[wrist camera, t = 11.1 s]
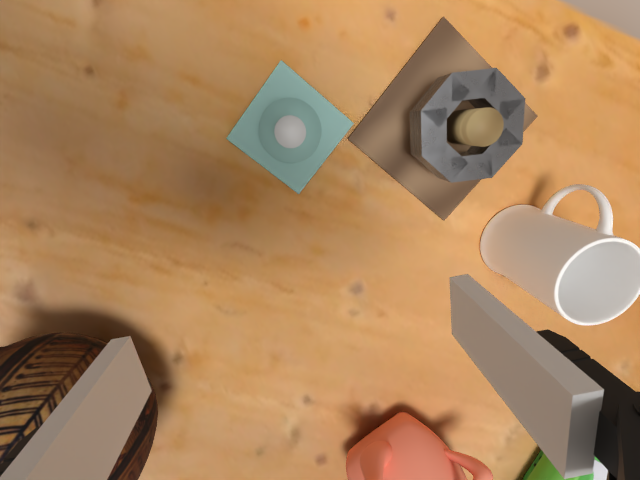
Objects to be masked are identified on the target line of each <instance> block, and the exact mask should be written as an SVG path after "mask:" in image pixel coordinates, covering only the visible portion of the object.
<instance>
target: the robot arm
mask: <svg viewBox="0 0 640 480" xmlns="http://www.w3.org/2000/svg"><path fill="white" fill-rule="evenodd" d="M450 299H451V325H452V335H453V336H454V337H455V339H456V340H457V341H458V343H459V344H460V345H461V346H462V348H463V349H464V350H465V352H466V353H467V354H468V355H469V357H470V358H471V359H472V361H473V362H474V363H475V365H476V366H477V367H478V368H479V370H480V371H481V372H482V374H483V375H484V376H485V377H486V379H487V380H488V381H489V383H490V384H491V385H492V387H493V388H494V389H495V390H496V392H497V393H498V394H499V396H500V397H501V398H502V399H503V401H504V402H505V403H506V405H507V406H508V407H509V408H510V410H511V411H512V412H513V414H514V415H515V416H516V418H517V419H518V420H519V421H520V423H521V424H522V425H523V427H524V428H525V429H526V430H527V432H528V433H529V434H530V436H531V437H532V438H533V439H534V441H535V442H536V443H537V445H538V446H539V447H540V449H541V450H542V451H543V452H544V454H545V455H546V456H547V458H548V459H549V460H550V461H551V463H552V464H553V465H554V467H555V468H556V469H557V470H558V472H559V473H560V474H561V476H562V477H563V478H564V479H568V478H573V477H578V476H582V475H587V474H592V473H593V466H594V459H595V457H596V458H597V459H598V460H599V461H600V462H601V463H602V464H603V465H604V466H605V468H606V469H607V470H608V473H607V479H606V480H640V392H635V391H634V390H633V389H631V388H630V387H629V386H627V385H626V384H625V383H624V382H622V381H621V380H620V379H618V378H617V377H616V376H615V375H613V374H612V373H611V372H609V371H608V370H607V369H606V368H604V367H603V366H602V365H600V364H599V363H598V362H597V361H595V360H594V359H591V358H590V356H589V355H588V354H586V353H585V352H584V351H582V350H579V347H577V346H576V345H575V344H573V343H572V342H571V341H570V340H568V339H567V338H566V337H564V336H561V335H559V334H557V333H555V332H552V331H550V330H543V331H537V332H536V331H534V330H533V329H532V328H531V327H530V326H528V325H527V324H526V323H525V322H524V321H523V320H521V319H520V318H519V317H518V316H517V315H515V314H514V313H513V312H512V311H511V310H510V309H508V308H507V307H506V306H505V305H504V304H502V303H501V302H500V301H499V300H498V299H497V298H495V297H494V296H493V295H492V294H491V293H489V292H488V291H487V290H486V289H485V288H484V287H482V286H481V285H480V284H479V283H478V282H476V281H475V280H474V279H473V278H472V277H471V276H469V275H468V274H465V275H460V276H455V277H450ZM151 391H152V390H151V387H150V385H149V382H148V380H147V377H146V374H145V372H144V369H143V367H142V364H141V362H140V359H139V357H138V354H137V351H136V349H135V346H134V344H133V341H132V339H131V336H127V337H122V338H116V339H111V340H110V342H109V343H108V344H107V345H106V346H105V348H104V349H103V350H102V351H101V353H100V354H99V355H98V356H97V358H96V359H95V360H94V361H93V363H92V364H91V365H90V366H89V368H88V369H87V370H86V371H85V372H84V374H83V375H82V376H81V377H80V379H79V380H78V381H77V382H76V384H75V385H74V386H73V387H72V389H71V390H70V391H69V392H68V394H67V395H66V396H65V397H64V399H63V400H62V401H61V402H60V403H59V405H58V406H57V407H56V408H55V410H54V411H53V412H52V413H51V415H50V416H49V417H48V418H47V420H46V421H45V422H44V423H43V425H42V426H41V427H38V428H35V429H34V430H32V431H31V432H30V433H29V434H28V435H26V436H25V437H24V438H23V439H22V440H20V441H19V442H18V443H17V444H16V445H15V446H14V448H13V449H12V450H11V451H10V452H9V453H8V455H7V456H6V457H5V458H4V459H3V463H0V480H107V479H108V477H109V475H110V473H111V471H112V469H113V467H114V465H115V463H116V461H117V459H118V457H119V455H120V453H121V451H122V449H123V447H124V445H125V443H126V441H127V439H128V437H129V435H130V433H131V431H132V429H133V427H134V425H135V423H136V421H137V419H138V417H139V415H140V413H141V411H142V409H143V407H144V405H145V403H146V401H147V399H148V397H149V395H150V393H151Z"/></svg>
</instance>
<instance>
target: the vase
mask: <svg viewBox="0 0 640 480" xmlns="http://www.w3.org/2000/svg"><path fill="white" fill-rule="evenodd" d="M107 344H108V343H106V342H104V341H101V340H98V339H96V338H92V337H89V336H85V335H79V334H72V333H51V334H42V335H38V336H34V337H30V338H27V339H24V340H21V341H19V342H16V343H14V344H11V345H8V346H5V347H0V463H3V459H4V458H5V457H6V456H7V455H8V453H9V452H10V451H11V450H12V449H13V448H14V446H15V445H16V444H17V443H18V442H19V441H20V440H22V439H23V438H24V437H25V436H26V435H28V434H29V433H30V432H31V431H32V430H34V429H35V428H38V427H41V426H42V425H43V423H44V422H45V421H46V420H47V418H48V417H49V416H50V415H51V413H52V412H53V411H54V410H55V408H56V407H57V406H58V405H59V403H60V402H61V401H62V400H63V399H64V397H65V396H66V395H67V394H68V392H69V391H70V390H71V389H72V387H73V386H74V385H75V384H76V382H77V381H78V380H79V379H80V377H81V376H82V375H83V374H84V372H85V371H86V370H87V369H88V368H89V366H90V365H91V364H92V363H93V361H94V360H95V359H96V358H97V356H98V355H99V354H100V353H101V351H102V350H103V349H104V348H105V346H106V345H107ZM146 377H147V376H146ZM147 380H148V382H149V385H150V387H151V390H152V391H151V393H150V395H149V397H148V399H147V401H146V403H145V405H144V407H143V409H142V411H141V413H140V415H139V417H138V419H137V421H136V423H135V425H134V427H133V429H132V431H131V433H130V435H129V437H128V439H127V441H126V443H125V445H124V447H123V449H122V451H121V453H120V455H119V457H118V459H117V461H116V463H115V465H114V467H113V469H112V471H111V473H110V475H109V477H108V479H107V480H138V478H139V476H140V474H141V472H142V470H143V468H144V465H145V463H146V461H147V459H148V456H149V453H150V450H151V447H152V444H153V440H154V436H155V431H156V426H157V415H158V409H157V401H156V396H155V392H154V390H153V387H152V384H151V383H150V381H149V379H148V377H147Z"/></svg>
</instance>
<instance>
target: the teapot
mask: <svg viewBox="0 0 640 480" xmlns="http://www.w3.org/2000/svg"><path fill="white" fill-rule="evenodd" d="M460 465H461V466H462V467H464V468H465V469H467V470H468V471H469V472H470V473H471V474H472V475H473V480H493V475H492V472H491V471H490V469H489V468H488V467H487V466H486V465H485V464H483V463H482V462H481V461H479V460H478V459H475V458H473V457H471V456H468V455H465V454H462V453H459V452H455V451H451V450H450V449H449V448H448V447H447V446H446V445H445V443H444V442H443V441H442V440H441V439H440V438H439V437H438V436H437V435H436V434H435V433H434V432H433V431H431V430H430V429H429V428H428V427H427V426H425V425H424V424H423V423H421V422H420V421H418V420H417V419H416V418H414V417H413V416H411V415H410V414H409V413H407V412H399V413H397V414H395V415H394V416H393V417H392V418H391V419H389V420H388V421H386V422H385V423H384V424H382V425H381V426H379V427H378V428H376V429H375V430H374V431H372V432H371V433H370V434H368V435H367V436H366V437H364V438H363V439H362V440H360V441H359V442H358V443H357V444H356V445H354V446H353V447H352V448H351V449H350V450H349V451H348V455H347V460H346V472H347V477H348V480H467V478H466V476H465V474H464V472H463V469H462V467H461V466H460Z"/></svg>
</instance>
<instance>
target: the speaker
mask: <svg viewBox="0 0 640 480" xmlns="http://www.w3.org/2000/svg"><path fill="white" fill-rule="evenodd" d="M607 473H608V470H607V469H606V468H605V466H604V465H603V464H602V463H601V462H600V461H599V460H598V459H597V458H596V457H595V459H594V466H593V473H592V474H587V475H582V476H578V477H573V478H568V479H564V478H563V477H562V476H561V474H560V473H559V472H558V470H557V469H556V468H555V467H554V465H553V464H552V463H551V461H550V460H549V459H548V458H547V456H546V455H545V454H544V452H543V451H542V450H541V451H540V452H539V454H538V455H537V457H536V458H535V460H534V462H533V463H532V465H531V466H530V468H529V469H528V471H527V472H526V474H525V476H524V478H523V480H606V479H607Z"/></svg>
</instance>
